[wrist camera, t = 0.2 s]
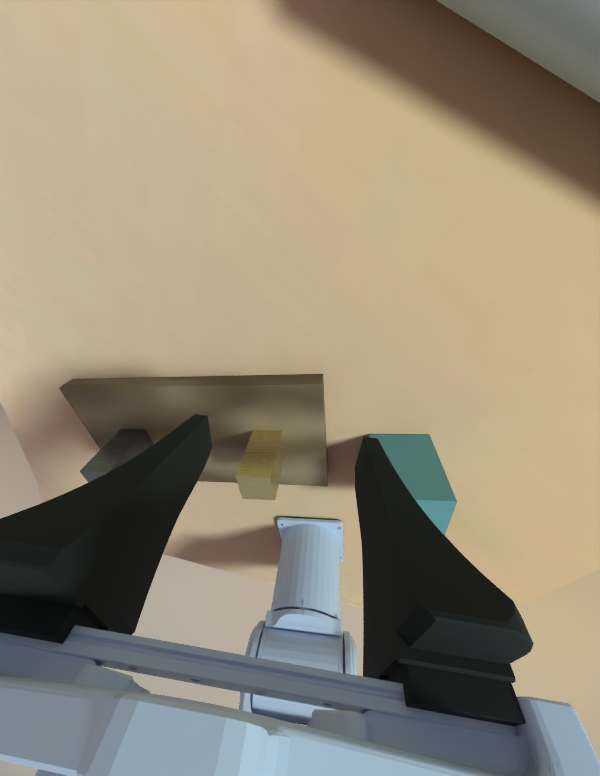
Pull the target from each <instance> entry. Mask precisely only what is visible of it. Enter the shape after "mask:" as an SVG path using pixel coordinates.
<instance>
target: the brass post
mask: <svg viewBox="0 0 600 776" xmlns="http://www.w3.org/2000/svg"><path fill="white" fill-rule="evenodd" d="M284 456H285V446H284V440H283V434H282V430H253V432H252V434H251V437H250V440H249V442H248V445H247V448H246V450H245V453H244V455H243V458H242V461H241V463H240V466H239V469H238V471H237V474H236V479H237V482H238V485H239V489H240V492H241V495H242V498H243V499H264V500H275V499H276V494H277V489H278V485H279V480H280V475H281V470H282V466H283V461H284Z"/></svg>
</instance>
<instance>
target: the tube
mask: <svg viewBox="0 0 600 776" xmlns="http://www.w3.org/2000/svg"><path fill="white" fill-rule="evenodd" d="M436 1H438V2H439V3H441V4H443V5H444V6H446V7H447V8H449V9H451V10H452V11H454V12H455V13H457V14H459V15H460V16H462V17H463V18H465V19H467V20H468V21H470V22H471V23H473V24H475V25H476V26H478V27H479V28H481V29H483V30H484V31H486V32H487V33H489V34H491V35H492V36H494V37H495V38H497V39H499V40H500V41H502V42H503V43H505V44H507V45H508V46H510V47H511V48H513V49H515V50H516V51H518V52H519V53H521V54H523V55H524V56H526V57H527V58H529V59H531V60H532V61H534V62H535V63H537V64H539V65H540V66H542V67H543V68H545V69H547V70H548V71H550V72H551V73H553V74H555V75H556V76H558V77H559V78H561V79H563V80H564V81H566V82H567V83H569V84H571V85H572V86H574V87H575V88H577V89H579V90H580V91H582V92H583V93H585V94H587V95H588V96H590V97H591V98H593V99H595V100H596V101H598V102H599V103H600V0H436Z"/></svg>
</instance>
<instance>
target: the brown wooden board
mask: <svg viewBox="0 0 600 776" xmlns="http://www.w3.org/2000/svg"><path fill="white" fill-rule="evenodd" d="M59 389H60V390H61V392H62V393H63V394H64V396H65V397H66V399H67V400H68V402H69V403H70V405H71V406H72V408H73V409H74V411H75V412H76V414H77V415H78V417H79V418H80V420H81V421H82V422H83V424H84V425H85V427H86V428H87V430H88V431H89V433H90V434H91V436H92V437H93V439H94V440H95V442H96V443H97V445H98V446H99V448H100V449H102V448H103V447H104V446H105V445H106V444H107V443H108V442H109V441H110V440H111V439H112V438H113V437H114V436H115V435H116V434H117V433H118V431H119V430H120V429H146V431H147V432H148V434H149V436H150V438H151V440H152V442H153V444H155V443H157V442H158V441H159V440H161V439H162V438H163V437H165V436H166V435H168V434H169V433H170V432H172V431H173V430H174V429H176V428H177V427H178V426H180V425H181V424H182V423H184V422H185V421H186V420H188V419H189V418H190V417H192V416H193V415H194V414H198V415H206V416H208V421H209V428H210V435H211V441H212V450H211V452H210V455H209V458H208V460H207V463H206V465H205V468H204V469H203V471H202V473H201V475H200V477H199V479H198V481H208V482H235V483H238V482H237V479H236V474H237V471H238V469H239V466H240V463H241V461H242V458H243V455H244V453H245V450H246V448H247V445H248V442H249V440H250V437H251V434H252V432H253V430H282V434H283V440H284V446H285V456H284V461H283V466H282V470H281V475H280V480H279V484H288V485H314V486H328V466H327V446H326V425H325V405H324V385H323V374H305V375H256V376H207V377H158V378H109V379H73V380H71V381H69V382H68V383H66V384H65V385H63V386H62V387H60V388H59Z"/></svg>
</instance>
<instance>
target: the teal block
mask: <svg viewBox="0 0 600 776" xmlns="http://www.w3.org/2000/svg"><path fill="white" fill-rule="evenodd" d="M369 437H371V438H377V439H378V440H379V441H380V443H381V445H382V447H383V449H384V451H385V453H386V455H387V456H388V458H389V460H390V462H391V463H392V465H393V467H394V468H395V470H396V472H397V473H398V475H399V476H400V478H401V480H402V481H403V483H404V484H405V486H406V487H407V489H408V490H409V492H410V493H411V495H412V496H413V497H414V499H415V500H416V502H417V503H418V504H419V506H420V507H421V508H422V510H423V511H424V512H425V513H426V515H427V516H428V517H429V518H430V520H431V521H432V522H433V523H434V524H435V525H436V527H437V528H438V529H439V530H440V531H441V532H442V534H443V535H444V536H445V533H446V530H447V527H448V525H449V522H450V519H451V516H452V514H453V511H454V508H455V506H456V503H457V501H456V498H455V496H454V493H453V491H452V488H451V486H450V484H449V481H448V479H447V476H446V474H445V471H444V469H443V467H442V464H441V462H440V459H439V457H438V454H437V452H436V449H435V447H434V445H433V442H432V440H431V437H430V435H409V434H369Z"/></svg>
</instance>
